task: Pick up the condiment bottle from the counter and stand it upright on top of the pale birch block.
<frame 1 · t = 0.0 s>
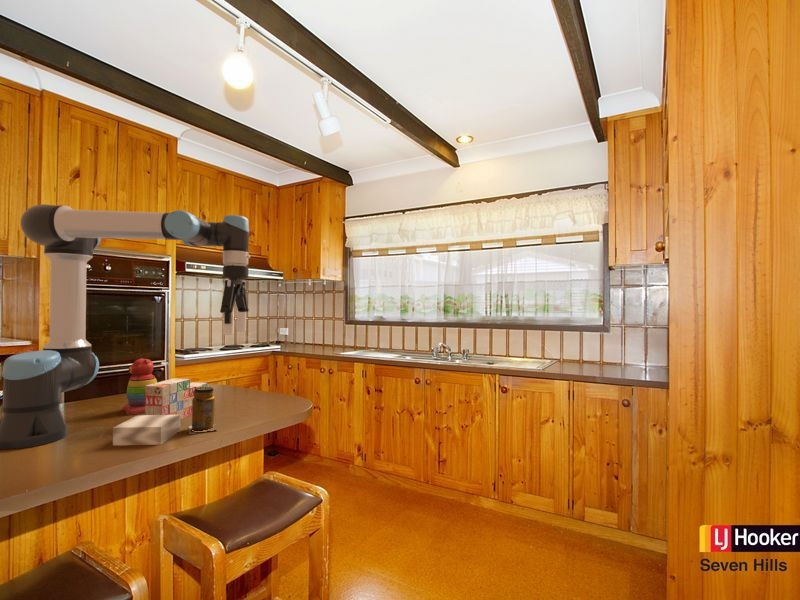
hand: (235, 333, 132), 28 cm above the countertop, tool pointing down, fingers open, 13 cm apart
stack of blocks: (178, 417, 138), on the countertop
stacking bear: (141, 410, 146), on the countertop
condiment: (202, 429, 125), on the countertop
birch block: (148, 438, 116), on the countertop
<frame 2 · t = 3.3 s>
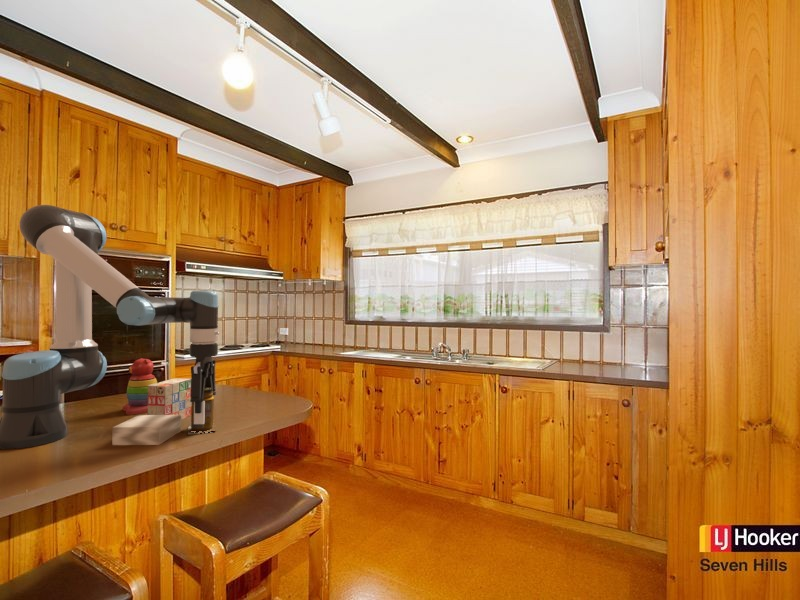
hand: (203, 420, 125), 2 cm above the countertop, tool pointing down, fingers closed on condiment, 6 cm apart
condiment: (201, 430, 124), on the countertop, touching gripper
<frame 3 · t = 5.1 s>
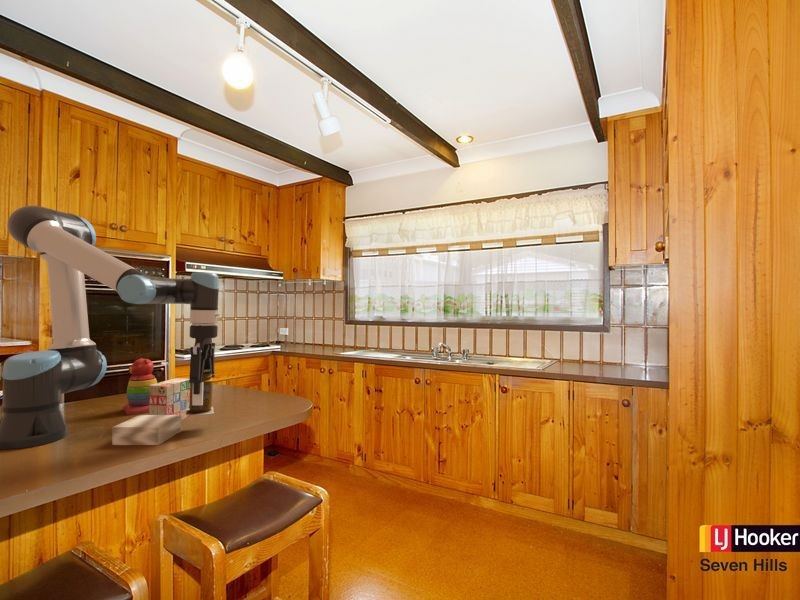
hand: (201, 402, 125), 8 cm above the countertop, tool pointing down, fingers closed on condiment, 6 cm apart
condiment: (200, 412, 124), point 5 cm above the countertop, touching gripper
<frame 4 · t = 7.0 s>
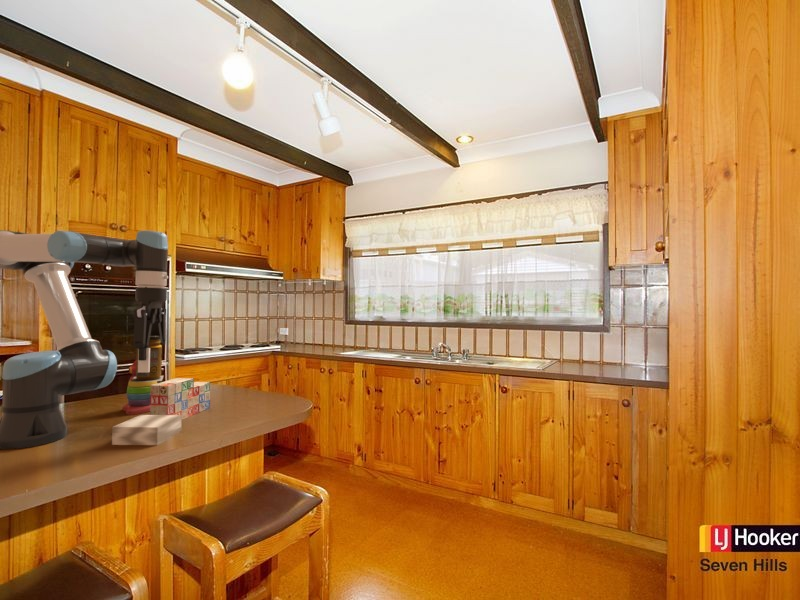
hand: (149, 370, 117), 19 cm above the countertop, tool pointing down, fingers closed on condiment, 6 cm apart
condiment: (147, 380, 116), point 16 cm above the countertop, touching gripper
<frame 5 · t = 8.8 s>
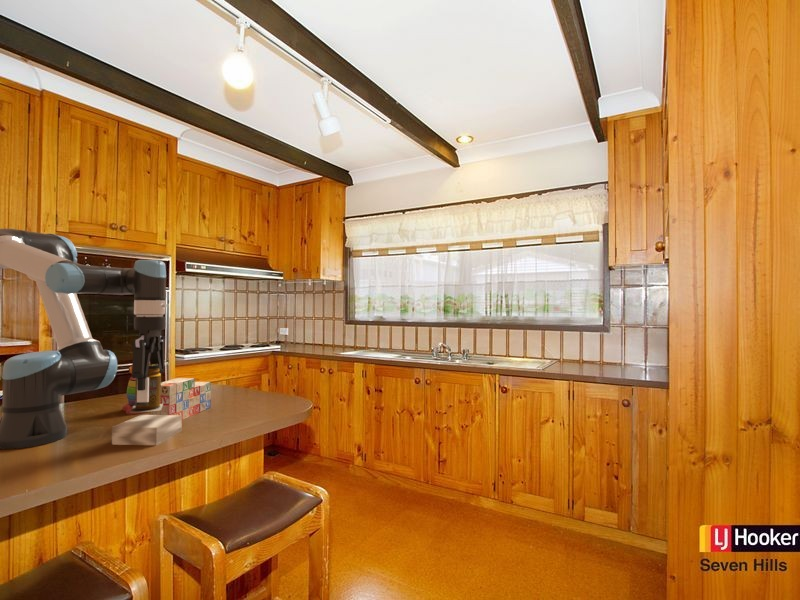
hand: (149, 398, 116), 11 cm above the countertop, tool pointing down, fingers closed on condiment, 6 cm apart
condiment: (146, 409, 116), point 8 cm above the countertop, touching gripper
when the fingers open (9 cm above the countertop, at t = 10.4 s): condiment drops 2 cm, point 4 cm above the countertop.
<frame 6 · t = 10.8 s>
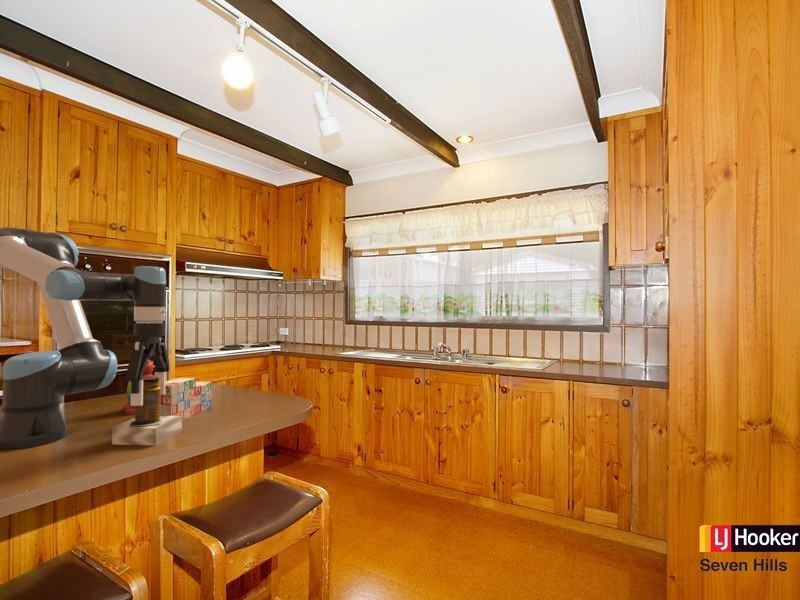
hand: (148, 399, 116), 10 cm above the countertop, tool pointing down, fingers open, 12 cm apart
condiment: (146, 423, 115), point 4 cm above the countertop
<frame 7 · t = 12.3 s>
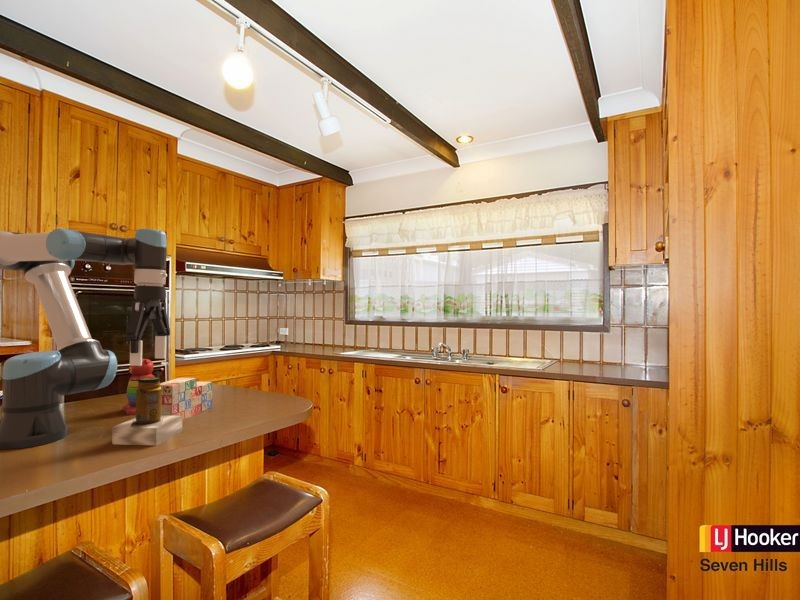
hand: (148, 361, 117), 21 cm above the countertop, tool pointing down, fingers open, 13 cm apart
condiment: (147, 423, 115), point 4 cm above the countertop, touching birch block
birch block: (148, 439, 116), on the countertop, touching condiment
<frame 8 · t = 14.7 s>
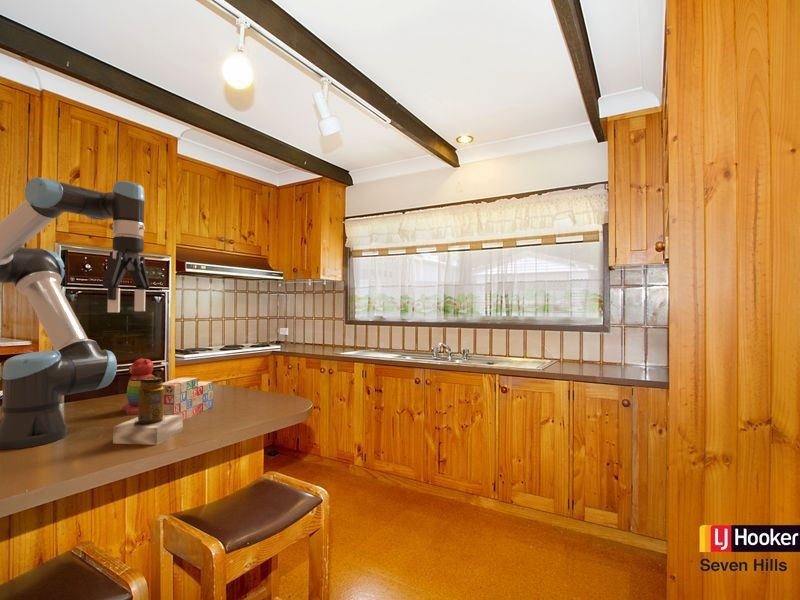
hand: (127, 311, 120), 35 cm above the countertop, tool pointing down, fingers open, 13 cm apart
at the end: condiment inside the target area on the birch block (1.6 cm from its centre), point 4.8 cm above the birch block's base; condiment tilted 0°; the gripper is holding nothing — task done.
